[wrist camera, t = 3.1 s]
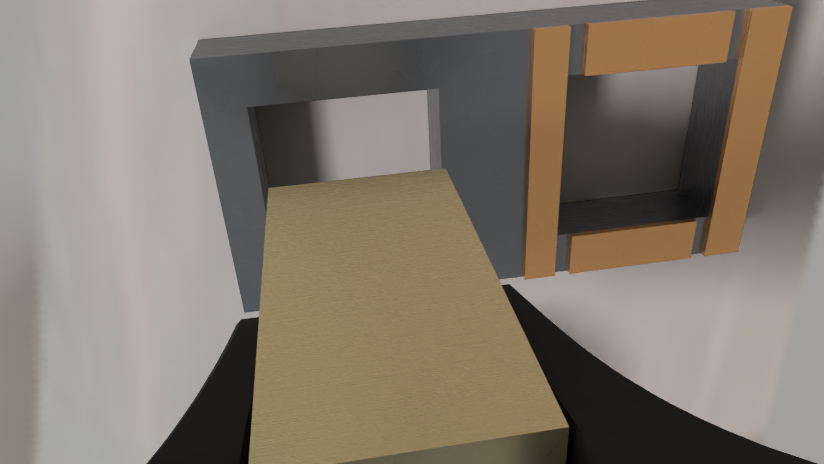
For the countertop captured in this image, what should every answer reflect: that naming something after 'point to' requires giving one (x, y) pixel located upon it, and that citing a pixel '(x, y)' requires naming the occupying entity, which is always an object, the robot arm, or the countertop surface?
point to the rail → (516, 121)
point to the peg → (391, 334)
